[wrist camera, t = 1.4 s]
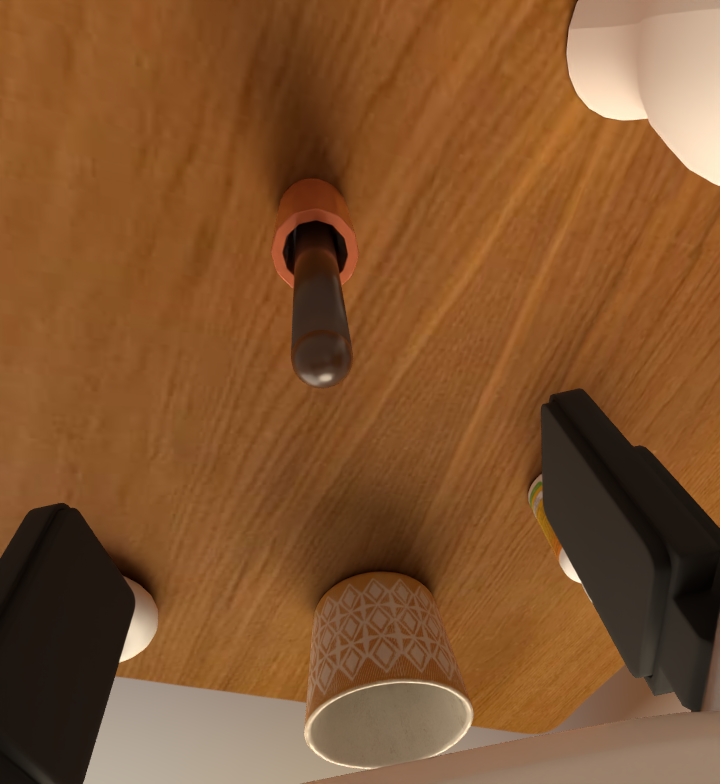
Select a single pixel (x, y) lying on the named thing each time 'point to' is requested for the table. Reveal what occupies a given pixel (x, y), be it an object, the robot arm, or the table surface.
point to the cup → (653, 70)
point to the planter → (382, 675)
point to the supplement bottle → (549, 529)
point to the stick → (319, 310)
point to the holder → (305, 206)
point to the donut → (140, 622)
